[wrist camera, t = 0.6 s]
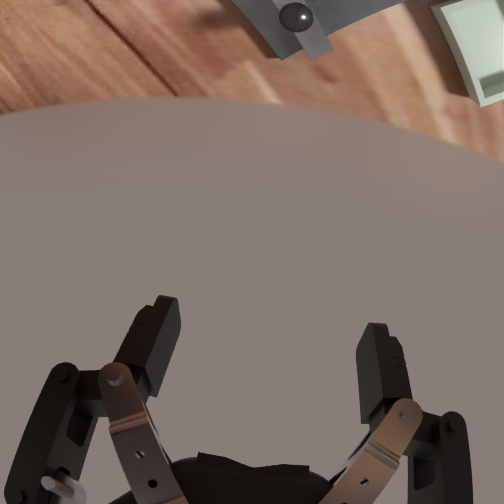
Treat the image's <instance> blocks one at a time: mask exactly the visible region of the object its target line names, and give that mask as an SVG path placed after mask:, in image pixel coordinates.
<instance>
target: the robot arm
mask: <svg viewBox="0 0 504 504" xmlns="http://www.w3.org/2000/svg"><path fill="white" fill-rule="evenodd" d="M180 328H181V319H180V313H179V305H178V300H177V298H174V297H169V296H163V295H159V296H158V297H157V299H156V301H155V303H154V305H153V306H149V305H146V306H145V307H144V308H142V309H141V310H140V311H139V312H138V313H137V315H136V317H135V319H134V321H133V324H132V325H131V327H130V329H129V332H128V333H127V335H126V337H125V339H124V341H123V343H122V345H121V347H120V349H119V351H118V353H117V355H116V357H115V359H114V361H113V362H112V363H109V364H107V365H105V366H104V367H102V368H101V370H88V371H78V369H77V368H76V366H75V365H73V364H71V363H67V362H64V363H60V364H57V365H56V366H55V367H54V368H53V369H52V370H51V372H50V374H49V376H48V378H47V380H46V382H45V384H44V387H43V389H42V391H41V393H40V395H39V397H38V400H37V402H36V404H35V407H34V409H33V412H32V414H31V416H30V418H29V421H28V424H27V426H26V429H25V431H24V433H23V436H22V439H21V441H20V444H19V447H18V449H17V452H16V455H15V458H14V461H13V464H12V466H11V470H10V473H9V476H8V479H7V482H6V485H5V489H4V497H5V500H6V502H7V504H86V491H85V489H84V487H83V486H82V485H81V483H80V482H79V478H80V475H81V471H82V468H83V464H84V461H85V458H86V454H87V451H88V448H89V445H90V441H91V439H92V436H93V432H94V429H95V426H96V423H97V420H98V418H99V417H108V419H109V423H110V427H109V432H110V435H111V438H112V441H113V444H114V447H115V449H116V453H117V455H118V458H119V461H120V463H121V466H122V468H123V471H124V473H125V476H126V478H127V480H128V483H129V485H130V487H131V490H130V491H129V492H127V493H125V494H124V495H122V496H121V497H119V498H117V499H116V500H114V501H112V502H111V503H109V504H373V502H374V501H375V500H376V498H377V497H378V496H379V495H380V493H381V492H382V490H383V489H384V488H385V486H386V485H387V483H388V482H389V481H390V479H391V477H392V476H393V474H394V473H395V471H396V470H397V468H398V466H399V462H398V461H399V459H400V457H401V456H402V455H405V456H408V504H473V486H472V471H471V460H470V451H469V442H468V435H467V428H466V423H465V420H464V418H463V417H462V416H461V415H460V414H459V413H457V412H453V411H451V412H447V413H445V414H444V415H443V416H437V415H434V414H430V413H427V412H424V411H422V409H421V407H420V406H419V405H418V403H417V402H415V401H414V400H413V398H412V393H411V388H410V382H409V377H408V372H407V368H406V362H405V359H404V353H403V349H402V346H401V344H400V343H399V341H398V340H397V338H396V337H391V336H390V335H389V331H388V327H387V325H386V324H382V323H368V325H367V327H366V329H365V331H364V333H363V335H362V337H361V339H360V341H359V343H358V346H357V350H356V364H357V373H358V385H359V399H360V413H361V424H369V426H370V430H369V431H368V433H367V434H366V435H365V437H364V438H363V439H362V440H361V442H360V443H359V445H358V446H357V447H356V448H355V450H354V451H353V452H352V453H351V455H350V456H349V457H348V458H347V459H346V461H345V462H344V463H343V464H342V465H341V466H340V467H339V468H338V469H337V470H336V471H335V472H334V473H333V475H332V476H331V477H330V478H329V479H328V480H327V479H325V478H324V477H322V476H320V475H318V474H316V473H314V472H310V471H309V466H305V465H288V464H280V465H272V466H266V467H257V468H256V467H255V468H254V467H249V466H247V465H244V464H241V463H239V462H236V461H234V460H231V459H229V458H226V457H222V456H216V455H211V454H205V453H200V452H198V456H197V457H191V458H185V459H181V460H178V461H175V462H172V460H171V458H170V456H169V454H168V452H167V450H166V448H165V446H164V444H163V442H162V440H161V438H160V436H159V434H158V431H157V429H156V427H155V425H154V422H153V420H152V418H151V415H150V413H149V410H148V408H147V405H146V402H147V399H148V397H149V396H153V397H157V395H158V393H159V390H160V386H161V384H162V381H163V378H164V375H165V372H166V370H167V367H168V364H169V362H170V358H171V356H172V353H173V351H174V348H175V345H176V342H177V339H178V337H179V333H180Z"/></svg>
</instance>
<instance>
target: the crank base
mask: <svg viewBox="0 0 504 504" xmlns="http://www.w3.org/2000/svg"><path fill="white" fill-rule="evenodd" d="M231 1H232V2H233V3H234V4H235V5H236V6H237V7H238V8H239V10H240V11H241V12H242V13H243V14H244V15H245V16H246V17H247V19H248V20H249V21H250V22H251V23H252V24H253V26H254V27H255V28H256V29H257V30H258V32H259V33H260V34H261V35H262V37H263V38H264V39H265V40H266V41H267V43H268V44H269V45H270V46H271V48H272V49H273V50H274V52H275V53H276V54H277V55H278V57H279V58H280V59H281V61H282V60H283V59H285V58H287V57H288V56H290V55H292V54H294V53H295V52H297V51H299V50H301V49H303V47H302V45H301V43H300V42H299V40H298V39H297V37H296V35H295V34H294V32H291V31H288V30H286V29H285V28H284V27H283V26H282V25H281V23H280V21H279V12H280V11H279V10H278V8H277V7H276V5H275V4H274V2H273V1H272V0H231ZM304 1H305V2H306V4H307V5H308V7H309V8H310V10H311V11H312V13H313V14H314V16H315V18H316V19H317V21H318V23H319V24H320V26H321V27H322V29H323V31H324V33H325V34H326V36H327V35H329V34H331V33H333V32H335V31H337V30H339V29H341V28H343V27H345V26H347V25H349V24H352V23H354V22H356V21H358V20H360V19H363V18H365V17H367V16H369V15H372V14H374V13H376V12H379V11H381V10H384V9H386V8H388V7H391V6H394V5H396V4H399V3H401V2H404V1H407V0H304Z"/></svg>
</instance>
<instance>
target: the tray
mask: <svg viewBox="0 0 504 504" xmlns="http://www.w3.org/2000/svg"><path fill="white" fill-rule="evenodd" d="M429 7H430V9H431V11H432V13H433V14H434V16H435V18H436V20H437V22H438V24H439V26H440V28H441V30H442V32H443V34H444V36H445V38H446V40H447V43H448V45H449V47H450V49H451V51H452V54H453V56H454V58H455V61H456V63H457V66H458V68H459V71H460V73H461V76H462V78H463V81H464V84H465V87H466V89H467V92H468V95H469V98H470V99H471V100H473V101H474V102H475V103H476V104H478V105H479V106H480V107H484V106H487V105H489V104H492V103H494V102H497V101H500V100H502V99H504V0H447V1H444V2H441V3H438V4H435V5H432V6H429Z"/></svg>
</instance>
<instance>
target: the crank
mask: <svg viewBox="0 0 504 504" xmlns="http://www.w3.org/2000/svg"><path fill="white" fill-rule="evenodd" d="M272 1H273V2H274V4H275V5H276V7H277V8H278V10H279V11H280V12H279V21H280V23H281V25H282V26H283V27H284V28H285V29H286V30H288V31H291V32H294V34H295V35H296V37H297V39H298V40H299V42H300V43H301V45H302V47H303V48H304V50H305V52H306V53H307V55H308V57H309V58H310V59H313V58H315V57H317V56H320V55H322V54H324V53H327V52H329V51H332V50H334V48H333V46H332V45H331V43H330V41H329V39H328V38H327V36H326V34H325V33H324V31H323V29H322V27H321V26H320V24H319V23H318V21H317V19H316V18H315V16H314V14H313V13H312V11H311V10H310V8H309V7H308V5H307V4H306V2H305V1H304V0H272Z"/></svg>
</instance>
